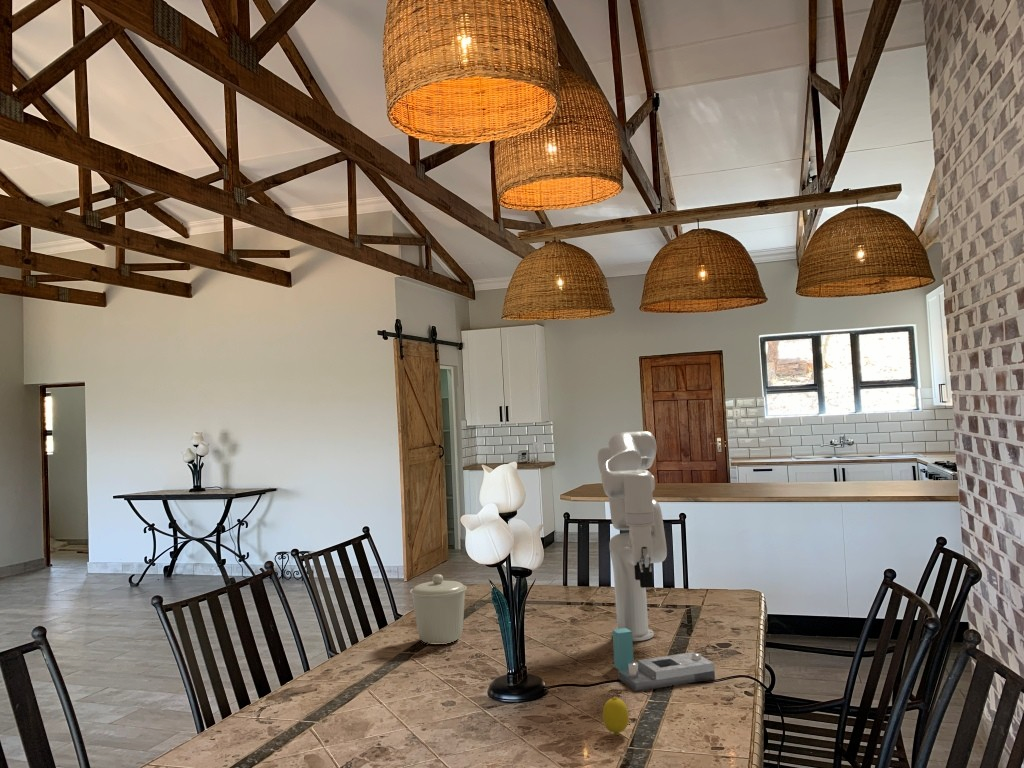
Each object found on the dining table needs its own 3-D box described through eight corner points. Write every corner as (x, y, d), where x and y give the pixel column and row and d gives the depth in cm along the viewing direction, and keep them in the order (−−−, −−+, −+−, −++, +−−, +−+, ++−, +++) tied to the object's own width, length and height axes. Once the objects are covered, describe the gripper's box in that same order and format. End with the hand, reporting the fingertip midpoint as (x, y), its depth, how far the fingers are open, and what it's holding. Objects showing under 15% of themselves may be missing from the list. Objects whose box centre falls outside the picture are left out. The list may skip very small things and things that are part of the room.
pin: (614, 666, 217) (612, 629, 218) (628, 664, 218) (625, 627, 219) (620, 671, 213) (618, 633, 214) (634, 668, 214) (631, 631, 215)
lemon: (601, 730, 173) (599, 693, 174) (626, 728, 174) (624, 691, 174) (606, 741, 168) (604, 702, 168) (632, 738, 168) (630, 700, 169)
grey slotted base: (618, 678, 207) (617, 659, 207) (694, 667, 213) (693, 648, 213) (635, 691, 197) (634, 671, 197) (714, 678, 203) (713, 658, 203)
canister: (473, 632, 260) (469, 567, 261) (464, 648, 243) (460, 579, 243) (419, 634, 262) (415, 569, 263) (406, 650, 244) (403, 581, 245)
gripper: (621, 515, 222) (625, 577, 221) (630, 524, 205) (634, 591, 204) (648, 514, 222) (652, 576, 221) (659, 522, 205) (663, 589, 204)
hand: (643, 583), depth 213 cm, fingers open, 9 cm apart
